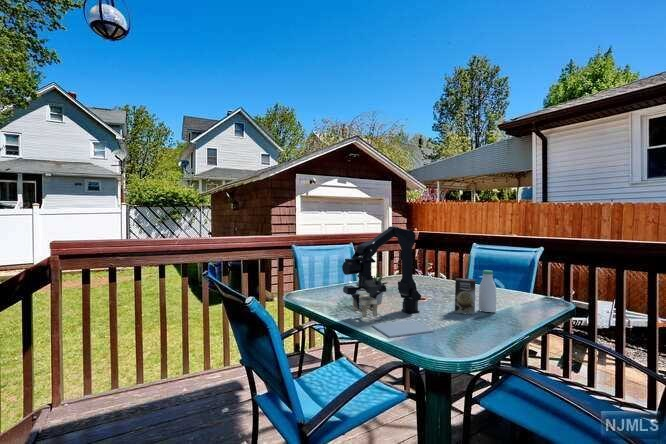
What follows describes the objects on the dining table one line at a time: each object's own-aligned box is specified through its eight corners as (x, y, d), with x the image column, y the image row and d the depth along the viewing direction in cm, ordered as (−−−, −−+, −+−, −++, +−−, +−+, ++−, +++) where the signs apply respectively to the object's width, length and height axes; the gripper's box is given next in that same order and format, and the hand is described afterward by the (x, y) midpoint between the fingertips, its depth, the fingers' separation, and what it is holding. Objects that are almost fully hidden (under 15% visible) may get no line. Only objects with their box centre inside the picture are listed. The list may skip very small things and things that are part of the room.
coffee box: (454, 313, 163) (454, 279, 163) (455, 309, 169) (455, 277, 169) (475, 315, 159) (475, 281, 159) (475, 311, 165) (475, 278, 165)
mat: (412, 321, 150) (412, 319, 150) (433, 331, 136) (433, 330, 136) (371, 326, 142) (371, 324, 142) (389, 337, 128) (389, 336, 128)
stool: (365, 309, 157) (365, 294, 157) (377, 315, 147) (377, 299, 147) (352, 310, 155) (353, 295, 155) (363, 317, 144) (363, 300, 144)
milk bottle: (498, 314, 162) (498, 272, 162) (480, 313, 164) (481, 271, 163) (493, 309, 170) (494, 269, 169) (477, 308, 171) (477, 269, 171)
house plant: (365, 307, 172) (365, 275, 172) (358, 300, 186) (358, 271, 186) (392, 306, 175) (392, 274, 175) (382, 299, 189) (383, 270, 189)
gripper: (353, 277, 140) (352, 315, 140) (392, 274, 146) (392, 311, 146) (342, 273, 150) (342, 308, 150) (380, 271, 157) (380, 304, 157)
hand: (364, 308), depth 151 cm, fingers closed on stool, 6 cm apart
